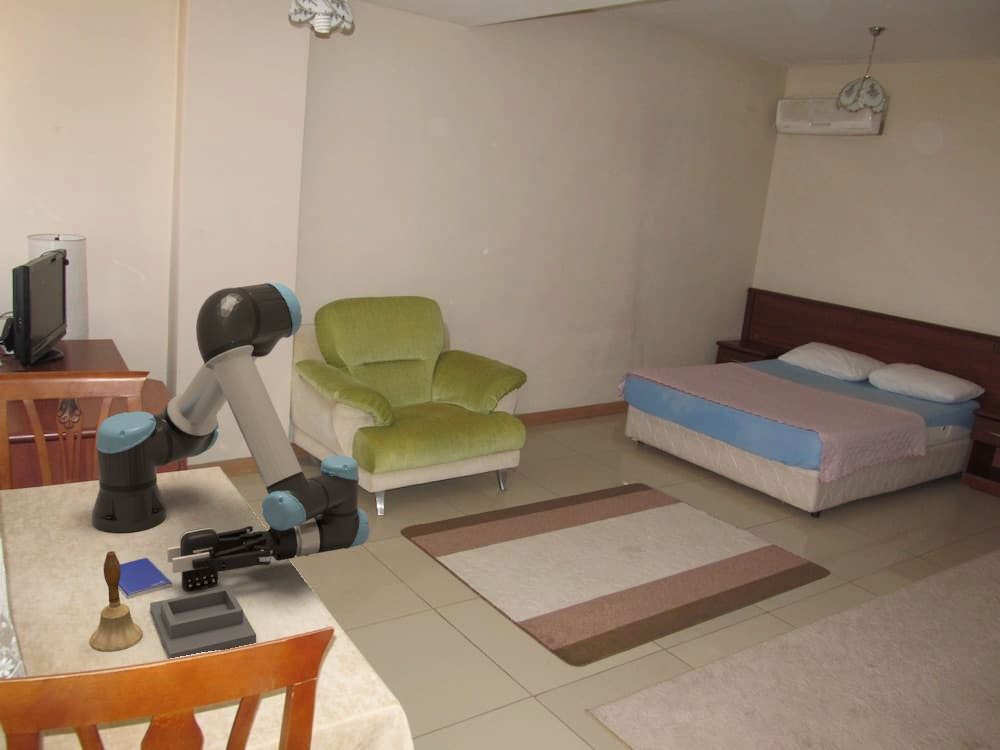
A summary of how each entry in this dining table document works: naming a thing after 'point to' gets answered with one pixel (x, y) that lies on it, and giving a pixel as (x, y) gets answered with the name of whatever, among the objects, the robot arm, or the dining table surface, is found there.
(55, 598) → the dining table surface
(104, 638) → the hand bell
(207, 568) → the battery charger
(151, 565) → the hard drive
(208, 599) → the dock
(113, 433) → the robot arm
